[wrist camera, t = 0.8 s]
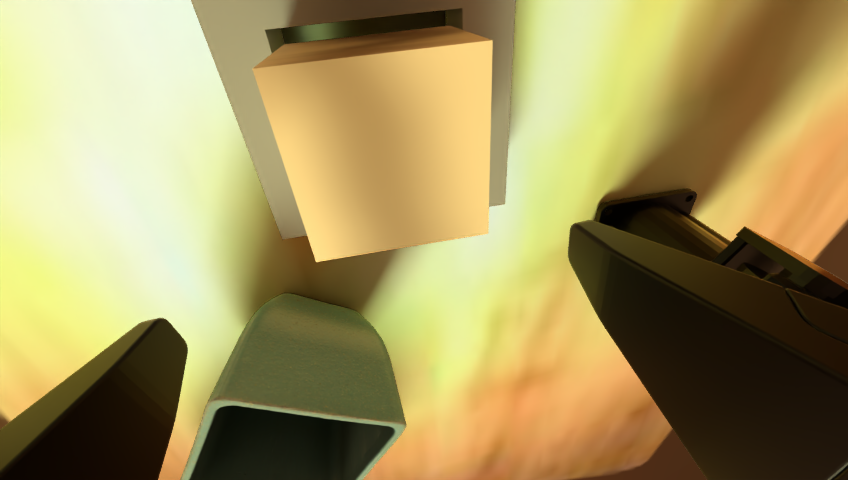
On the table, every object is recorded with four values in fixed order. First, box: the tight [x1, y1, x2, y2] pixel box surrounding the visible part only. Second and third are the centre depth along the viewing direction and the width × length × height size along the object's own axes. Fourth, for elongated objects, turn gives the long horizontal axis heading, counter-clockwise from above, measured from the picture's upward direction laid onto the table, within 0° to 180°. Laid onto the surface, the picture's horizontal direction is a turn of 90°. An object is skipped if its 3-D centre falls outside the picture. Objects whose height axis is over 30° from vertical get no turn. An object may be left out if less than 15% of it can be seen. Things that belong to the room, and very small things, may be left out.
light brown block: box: [252, 26, 493, 262], centre depth 13 cm, size 6×6×5 cm
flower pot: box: [180, 293, 406, 480], centre depth 21 cm, size 9×9×9 cm
